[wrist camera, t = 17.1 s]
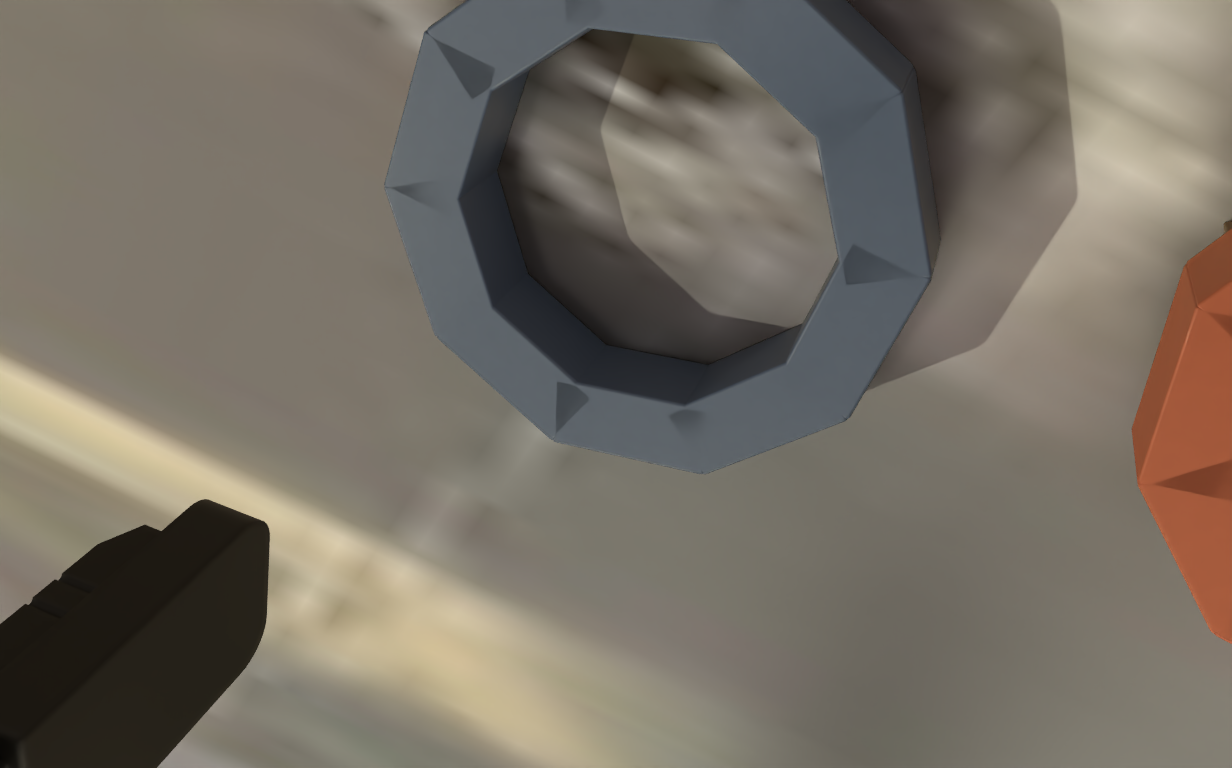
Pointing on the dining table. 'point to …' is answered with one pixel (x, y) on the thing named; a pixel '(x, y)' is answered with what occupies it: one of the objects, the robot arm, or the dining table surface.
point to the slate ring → (636, 381)
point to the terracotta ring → (1194, 433)
